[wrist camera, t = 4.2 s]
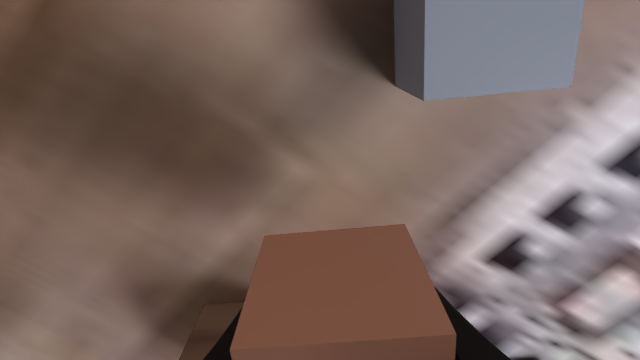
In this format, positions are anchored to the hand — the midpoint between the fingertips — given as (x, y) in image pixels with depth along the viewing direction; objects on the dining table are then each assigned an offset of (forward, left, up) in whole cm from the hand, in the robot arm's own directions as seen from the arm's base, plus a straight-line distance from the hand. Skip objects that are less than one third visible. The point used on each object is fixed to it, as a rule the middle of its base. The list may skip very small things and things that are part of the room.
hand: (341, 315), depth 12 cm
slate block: (+9, -6, -8) cm, 13 cm away
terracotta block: (0, 0, -2) cm, 2 cm away
